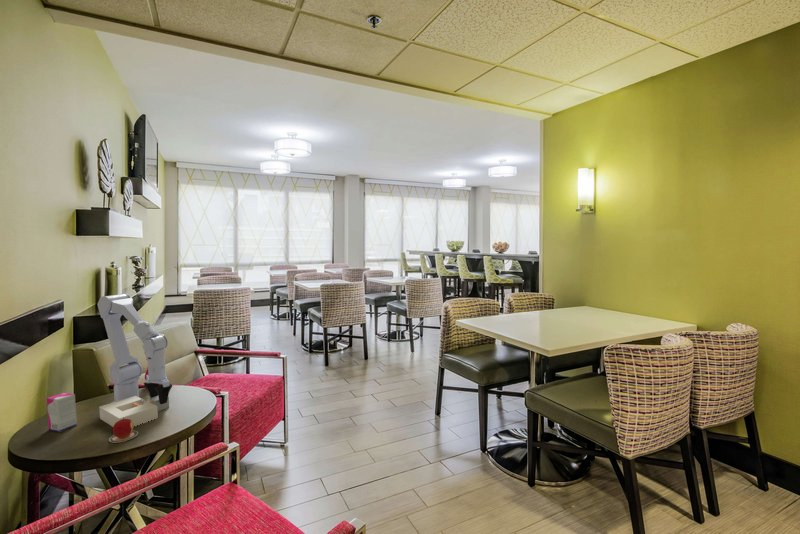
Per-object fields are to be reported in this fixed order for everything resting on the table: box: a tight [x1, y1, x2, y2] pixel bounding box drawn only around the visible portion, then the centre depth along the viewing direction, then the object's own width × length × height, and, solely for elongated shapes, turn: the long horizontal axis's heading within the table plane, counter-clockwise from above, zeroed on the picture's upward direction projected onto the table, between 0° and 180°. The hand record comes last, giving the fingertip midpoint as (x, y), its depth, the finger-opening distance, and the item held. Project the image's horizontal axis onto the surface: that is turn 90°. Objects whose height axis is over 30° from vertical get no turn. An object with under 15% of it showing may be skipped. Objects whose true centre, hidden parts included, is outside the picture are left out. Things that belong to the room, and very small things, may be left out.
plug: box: [148, 396, 170, 412], centre depth 155 cm, size 4×6×4 cm
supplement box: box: [46, 392, 78, 433], centre depth 140 cm, size 6×6×12 cm
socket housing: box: [98, 396, 159, 428], centre depth 147 cm, size 18×12×5 cm, turn 55°
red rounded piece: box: [108, 417, 139, 444], centre depth 132 cm, size 8×8×6 cm
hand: (158, 401), depth 155 cm, fingers open, 7 cm apart
